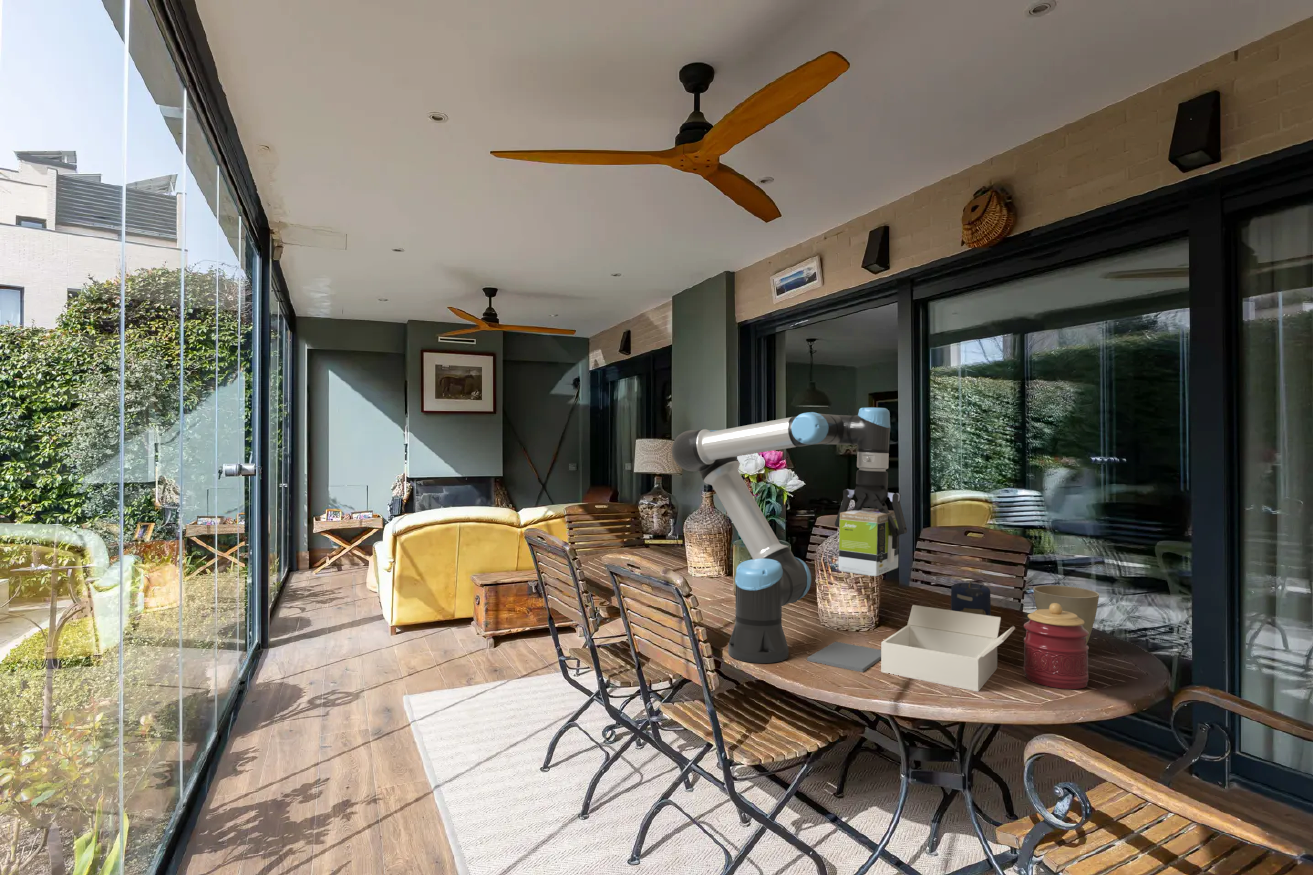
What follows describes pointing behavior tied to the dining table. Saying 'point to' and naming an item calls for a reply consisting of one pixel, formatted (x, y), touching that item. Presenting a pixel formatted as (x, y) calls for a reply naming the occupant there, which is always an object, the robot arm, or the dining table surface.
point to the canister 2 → (1056, 649)
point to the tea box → (865, 542)
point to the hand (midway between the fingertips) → (868, 558)
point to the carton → (944, 648)
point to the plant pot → (1069, 602)
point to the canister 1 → (971, 598)
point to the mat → (847, 656)
